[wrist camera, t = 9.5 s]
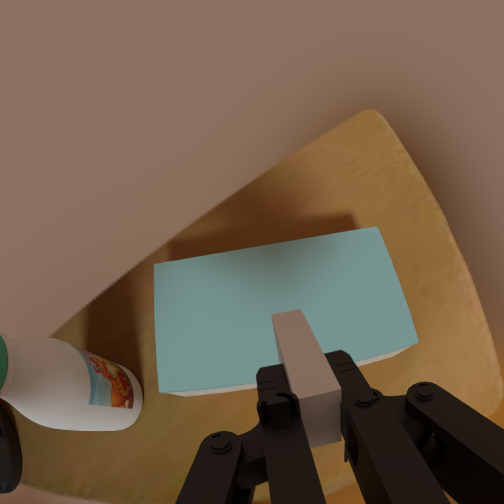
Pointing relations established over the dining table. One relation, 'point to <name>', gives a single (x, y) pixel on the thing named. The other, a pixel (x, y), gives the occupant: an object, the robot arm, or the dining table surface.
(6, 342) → the milk bottle
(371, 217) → the dining table surface
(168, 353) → the cover
